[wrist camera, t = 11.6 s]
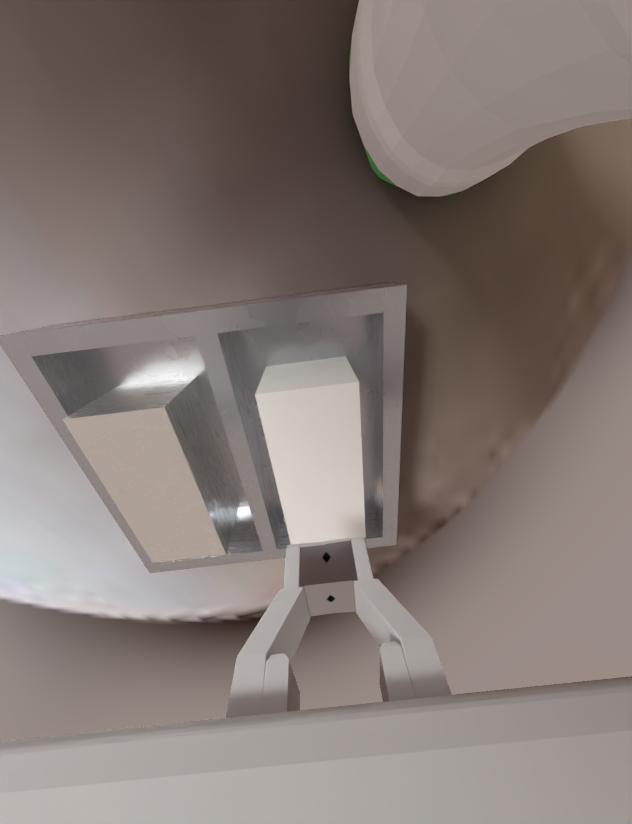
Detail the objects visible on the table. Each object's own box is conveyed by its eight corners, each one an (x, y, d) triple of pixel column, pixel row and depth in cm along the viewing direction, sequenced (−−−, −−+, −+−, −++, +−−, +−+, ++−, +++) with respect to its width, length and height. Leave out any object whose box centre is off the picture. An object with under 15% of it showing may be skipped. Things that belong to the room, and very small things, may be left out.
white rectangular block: (266, 366, 15) (254, 394, 11) (345, 356, 15) (359, 381, 11) (293, 497, 20) (291, 546, 16) (354, 490, 20) (365, 537, 16)
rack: (52, 325, 14) (-55, 346, 10) (387, 283, 14) (424, 286, 10) (169, 539, 22) (138, 602, 18) (385, 514, 22) (404, 572, 18)
